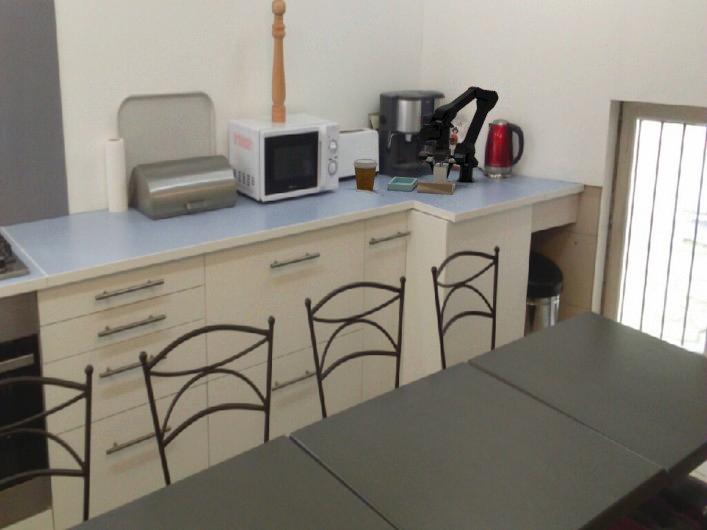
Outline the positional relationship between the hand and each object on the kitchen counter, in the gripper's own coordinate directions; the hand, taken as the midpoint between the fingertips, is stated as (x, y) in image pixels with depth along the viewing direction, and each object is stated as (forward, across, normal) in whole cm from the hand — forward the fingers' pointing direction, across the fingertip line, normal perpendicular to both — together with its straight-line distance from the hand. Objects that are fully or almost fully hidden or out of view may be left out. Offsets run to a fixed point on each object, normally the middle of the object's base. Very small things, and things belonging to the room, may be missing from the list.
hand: (440, 177), depth 311 cm
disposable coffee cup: (+3, -27, -20) cm, 34 cm away
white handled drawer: (+3, 0, 0) cm, 3 cm away
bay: (+3, 0, -10) cm, 10 cm away
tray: (+3, -14, -9) cm, 17 cm away
